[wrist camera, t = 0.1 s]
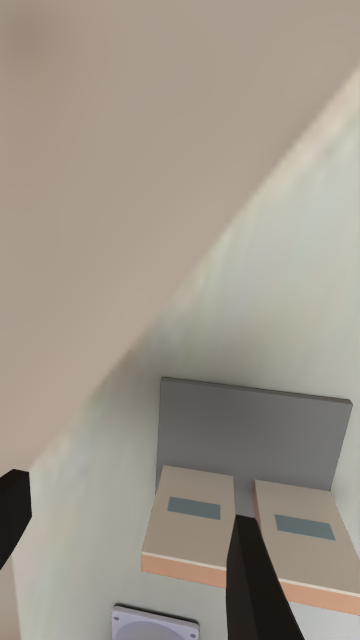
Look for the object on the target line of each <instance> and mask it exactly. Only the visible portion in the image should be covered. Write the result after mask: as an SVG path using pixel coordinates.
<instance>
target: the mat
mask: <svg viewBox="0 0 360 640" xmlns="http://www.w3.org/2000/svg"><path fill="white" fill-rule="evenodd" d="M352 406H353V404H352V403H351V401H350V400H345V399H337V398H329V397H320V396H312V395H304V394H296V393H288V392H280V391H272V390H264V389H256V388H247V387H239V386H231V385H223V384H215V383H207V382H199V381H191V380H183V379H174V378H166V377H162V379H161V389H160V410H159V430H158V451H157V471H156V491H155V497H156V493H157V489H158V485H159V481H160V477H161V473H162V469H163V465H167V466H173V467H180V468H186V469H192V470H199V471H205V472H211V473H217V474H224V475H230V476H233V482H234V501H235V515H236V514H238V515H243V516H247V517H252V518H255V516H254V507H253V499H252V493H253V487H254V482H255V480H261V481H268V482H274V483H280V484H287V485H293V486H299V487H305V488H312V489H318V490H324V491H330V489H331V485H332V481H333V478H334V474H335V470H336V466H337V463H338V459H339V455H340V451H341V448H342V444H343V440H344V436H345V432H346V429H347V425H348V421H349V417H350V414H351V410H352Z"/></svg>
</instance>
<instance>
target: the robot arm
mask: <svg viewBox="0 0 360 640" xmlns="http://www.w3.org/2000/svg"><path fill="white" fill-rule="evenodd" d="M31 517H32V511H31V495H30V479H29V472H26V471H21V470H16V469H13V470H11V471H9V472H8V473H6V474H5V475H3V476H2V477H0V570H1V568H2V567H3V565H4V564H5V562H6V561H7V559H8V558H9V556H10V555H11V553H12V552H13V550H14V549H15V547H16V545H17V543H18V541H19V540H20V538H21V536H22V534H23V532H24V531H25V529H26V527H27V525H28V523H29V521H30V519H31ZM226 612H227V629H228V640H305V639H304V637H303V635H302V633H301V631H300V628H299V626H298V624H297V622H296V620H295V617H294V615H293V613H292V611H291V608H290V606H289V603H288V601H287V599H286V596H285V594H284V592H283V589H282V587H281V585H280V582H279V580H278V577H277V575H276V572H275V570H274V567H273V564H272V562H271V559H270V557H269V554H268V551H267V548H266V546H265V543H264V540H263V537H262V534H261V531H260V528H259V525H258V521H257V520H256V519H255V518H252V517H247V516H243V515H238V514H236V515H235V520H234V525H233V530H232V535H231V540H230V545H229V550H228V555H227V560H226ZM111 617H112V640H198V637H199V626H198V625H197V624H196V623H192V622H187V621H183V620H178V619H174V618H169V617H165V616H160V615H156V614H151V613H147V612H142V611H138V610H133V609H129V608H124V607H120V606H115V607H113V610H112V613H111Z"/></svg>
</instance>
